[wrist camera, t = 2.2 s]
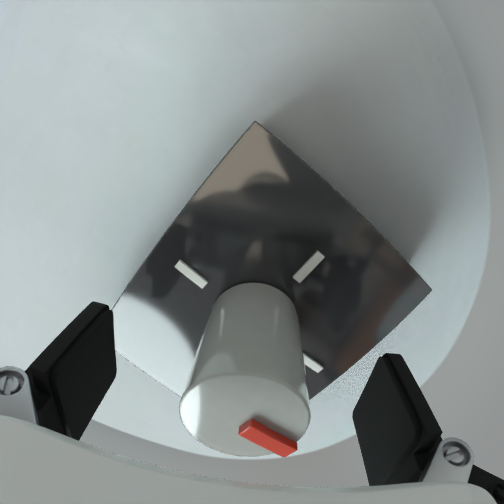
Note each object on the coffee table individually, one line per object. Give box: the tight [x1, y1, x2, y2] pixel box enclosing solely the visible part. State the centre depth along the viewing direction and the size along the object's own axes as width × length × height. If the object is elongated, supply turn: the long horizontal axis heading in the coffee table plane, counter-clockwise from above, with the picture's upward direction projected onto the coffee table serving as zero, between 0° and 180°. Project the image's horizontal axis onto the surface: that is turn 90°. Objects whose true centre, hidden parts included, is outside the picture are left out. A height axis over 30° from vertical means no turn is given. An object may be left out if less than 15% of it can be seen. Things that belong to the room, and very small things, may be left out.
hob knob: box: [179, 283, 311, 457], centre depth 10 cm, size 4×4×6 cm
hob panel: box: [112, 121, 432, 400], centre depth 14 cm, size 12×10×3 cm
